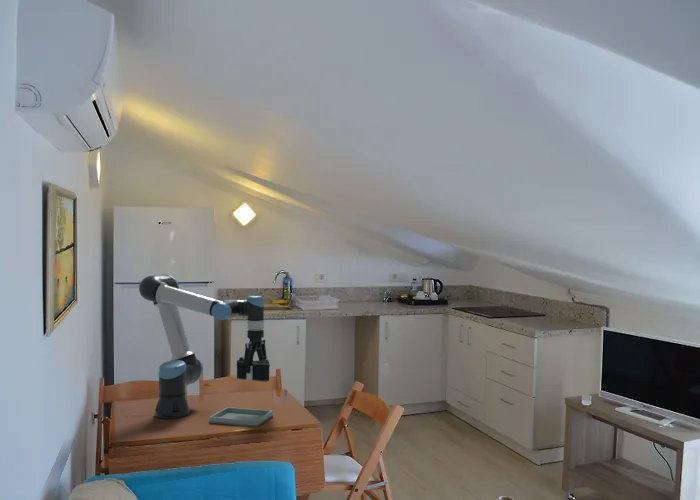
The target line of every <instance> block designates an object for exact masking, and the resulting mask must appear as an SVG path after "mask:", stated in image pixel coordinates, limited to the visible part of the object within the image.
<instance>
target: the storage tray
mask: <svg viewBox="0 0 700 500" xmlns="http://www.w3.org/2000/svg"><path fill="white" fill-rule="evenodd" d="M273 416H274V410H271V409H269V410H268V409H267V410H266V409H257V408H245V407H243V408H241V407H230V406H227V407H225V408H223V409H222V410H219V411H217V412H216V413H213V414H212V415H210V416H209V417H208V423H210V424H221V425H231V426H243V427H255V428H257V427H259V426H261V425H262V424H264V423H265V422H266V421H268V420H269V419H271V418H273Z"/></svg>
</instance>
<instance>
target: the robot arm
mask: <svg viewBox="0 0 700 500" xmlns="http://www.w3.org/2000/svg"><path fill="white" fill-rule="evenodd" d="M179 284H180V283H178V280H177V279H176V278H175V277H174V276H172V275H170V274H158V275H148V276H146V277H143V278H142V280H141V281H140V283H139V285H138V291H139V294H140V296H141V297H142V298H143V299H144V300H147V301H149V302H152V304H153V306H154V307H156V308H157V309H158V311H159V314H160V318H161V319H160V320H161V322H162V325H163V328H164V332H165V336H166V338H167V342H168V345H169V348H170V349H169V350H170V352H171V359H170V360H169V361H168V360H167V361H165V362H163V363H161V364H160V365H159V367H158V368H159V369H158V401H157V404H156V407H155V410H154V417H156V418H159V419H178V418H183V417H186V416H189V415H190V414H191V412H190V411H191V408H190V405H189V403H188V399H187V396H186V395H187V394H186V391H187V390H186V388H187V386H188V385H192V384H194V383H196V382H197V381H199V380H200V378H201V377H202V375H203V371H204V366H203V362H202V361H201V360H200V359H199V358H197V357H196V353H195V352H194V351H192V350H191V348H190V347H191V346H190V344H189V340H188V337H187V334H186V331H185V328H184V324H183V321H182V317H181V314H180V311H179V307H180V308H183V309H186V310H190V311H194V312H197V313H200V314H204V315H207V316H211V317H213V318H214V319H216V320H218V321H225V320H227V319H231V318H234V317H247V320H246V322H247V331H246V332H247V333H246V335H247V338H248V339H249V342H246V343H245V344H244V345H245V347H244V357H243V358H244V363H243V365H244V366H246V372H247V380H246V381H252V379H253V366H251V365H252V361H254V357H255V353H256V354H257V358H258V361H261V360H263V359H266V360H268V356H267V347H266V339H263V338H264V337H265V332H264V331H265V330H264V328H265V324H264V323H265V319H264V318H265V303H264V301H265V299H264V297H263V296H261V295H250V296H249V295H248V297H247V299H224V301H222V300H218V299H215V298H212V297H208V296H205V295H202V294H197V293H195V292H192V291H187V290H184V289H181V288H180V285H179Z"/></svg>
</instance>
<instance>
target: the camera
mask: <svg viewBox="0 0 700 500" xmlns="http://www.w3.org/2000/svg"><path fill="white" fill-rule="evenodd" d="M243 363H244V357H243V356H240V357H239V359H237V360H236V379H237V380H245V381H248V380H247V372H246V366H244V365H243ZM251 366H253V379H252V380H251V381H254V382H261V383H262V382H263V383H264V382H269V381H270V366H271V364H270V361H269V359H263V360H261V361H259V360H253V361H252V365H251Z"/></svg>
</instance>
